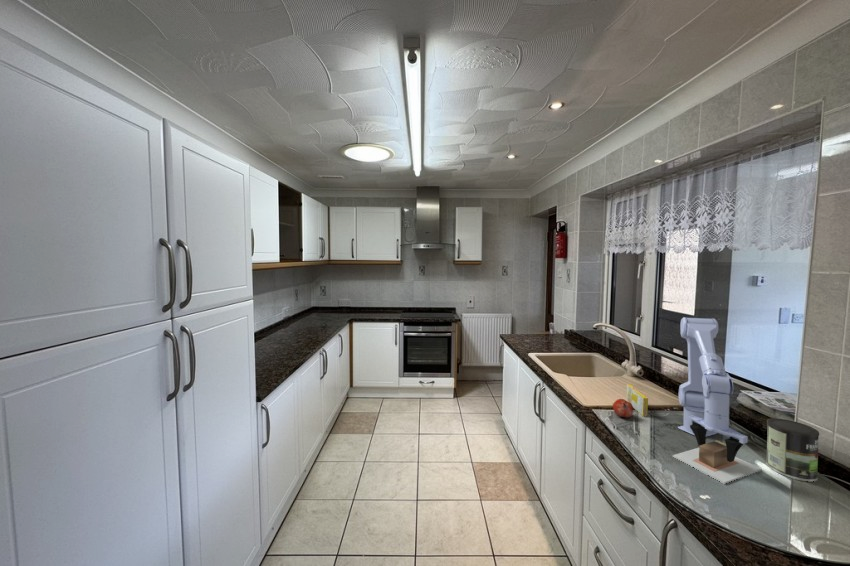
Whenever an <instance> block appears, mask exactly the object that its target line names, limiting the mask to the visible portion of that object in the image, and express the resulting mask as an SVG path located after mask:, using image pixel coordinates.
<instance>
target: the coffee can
mask: <svg viewBox="0 0 850 566" xmlns="http://www.w3.org/2000/svg"><path fill="white" fill-rule="evenodd" d="M766 420H767V421H766V424H767V434H766V435H767V437H766V438H767V439H766V441H767V442H766V466H767V467H769V469H770V470H772V471H774V472H776V473H778V474H780V475H782V476H784V477H786V478H790V479H793V480H797V481H801V482H806V481H808V482H807V483H813V481H814V482H817V481H818V468H819V467H818V465H819V464H818V462H819V439H820V438H819V437H820V432H819V430H817V429H816V428H814V427H812V426H810V425H807V424H805V423H801V422H799V421H798V422H797V421H795V420H790V419H785V418H774V417H773V418H768V419H766Z"/></svg>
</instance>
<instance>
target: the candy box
mask: <svg viewBox="0 0 850 566" xmlns="http://www.w3.org/2000/svg"><path fill="white" fill-rule="evenodd" d="M625 400H626V401H627V402H629V403H631V404H632V406H633V410H635V411H636V412H637V411H638V413H639V414H640V415H641V416H642V417H643V416H644V417H645V418H647V417H648V408H649V398H648V397H647V396H646V395H645V394H643V393H642V392H640V391H639V390H638V389H637V388H636V387H635V386H633V384H630V383H629V384H626V399H625ZM644 417H643V418H644Z"/></svg>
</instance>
